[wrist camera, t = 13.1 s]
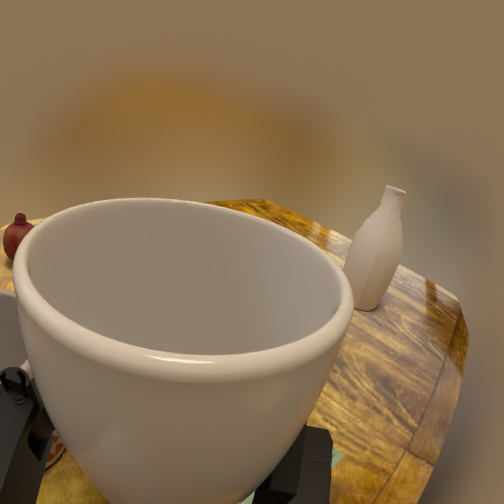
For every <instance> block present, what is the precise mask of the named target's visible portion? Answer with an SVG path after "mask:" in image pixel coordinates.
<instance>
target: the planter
mask: <svg viewBox="0 0 504 504" xmlns="http://www.w3.org/2000/svg"><path fill="white" fill-rule="evenodd" d="M13 366H14V367H20V368H21V369H23V370H25V371H26V373H27V374H28V375H29V378H30V380H31V379H32V378H33V375H32V372H31V368H30V365H29V362H28V358H27V354H26V350H25V346H24V342H23V337H22V332H21V327H20V321H19V316H18V309H17V302H16V295H15V292H12V291H8V290H3V289H0V372H1V370H3V369H5V368H7V367H13ZM0 383H1V382H0ZM53 436H54V437H53V443H52V447H51V450H50V453H49V456H48V459H47V463H46V466H45V469H47V468H48V467H50V466H51V465H52V464H54V463H55V462H56V461H57V460H58V459H59V457H60V456H61V455H62V453H63V452H64V450H65V446H64V444H63V443H62V441H61V439H60V438H59V436H58V434H57V432H56V430H54V431H53Z"/></svg>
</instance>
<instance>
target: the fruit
mask: <svg viewBox="0 0 504 504" xmlns="http://www.w3.org/2000/svg"><path fill="white" fill-rule="evenodd" d="M32 228H34V226H33V225H32V224H30V223H28V222H26V217H25V215H24V214H22V213H21V214H20V213H18V214H17V215H16V217H15V221H14V223H12V224H10V225H9V226H8V227H7V228H6V230H5V233H4V238H3V246H4V250H5V253H6V254H7V256H8V258H10V259H11V260H13V261H14V257H15V254H16V251H17V248H18V246H19V245H20V243H21V241H22V240H23V238H24V237H25V236H26V235H27V233H28V232H29V231H30V230H31V229H32Z"/></svg>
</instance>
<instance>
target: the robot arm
mask: <svg viewBox="0 0 504 504" xmlns="http://www.w3.org/2000/svg"><path fill="white" fill-rule="evenodd" d="M0 382H1V383H0V504H36V500H37V496H38V492H39V488H40V484H41V480H42V477H43V473H44V470H45V466H46V463H47V459H48V456H49V453H50V450H51V447H52V443H53V437H54V436H53V431H54V430H55V428H54V426H53V424H52V422H51V420H50V418H49V416H48V414H47V411H46V409H45V407H44V405H43V402H42V400H41V397H40V395H39V392H38V389H37V387H36V384H35V381H34V378H32V379H31V380H30V378H29V375H28V374H27V373H26V371H25V370H23V369H21V368H20V367H14V366H13V367H7V368H5V369H3V370H1V372H0ZM306 424H307V422H306ZM306 424H305V425H304V427H303V429H302V431H301V432H300V434H299V435H298V437H297V439H296V440H295V442H294V443H293V445H292V446H291V448H290V449H289V450H288V452H287V453H286V455H285V456H284V458H283V459H282V460H281V462H280V463H279V464H278V466H277V467H276V468H275V469H274V471H273V472H272V473H271V474H270V475H269V476H268V477H267V479H266V480H265V481H264V482H263V483H262V484H261V485H260V486H259V487H258V488H257V489H256V490H255V493H254V497H253V501H252V504H329V493H330V481H331V467H332V466H331V464H332V450H333V441H332V438H331V436H330V434H329V431H328V430H326V429H321V428H316V427H311V426H306Z"/></svg>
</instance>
